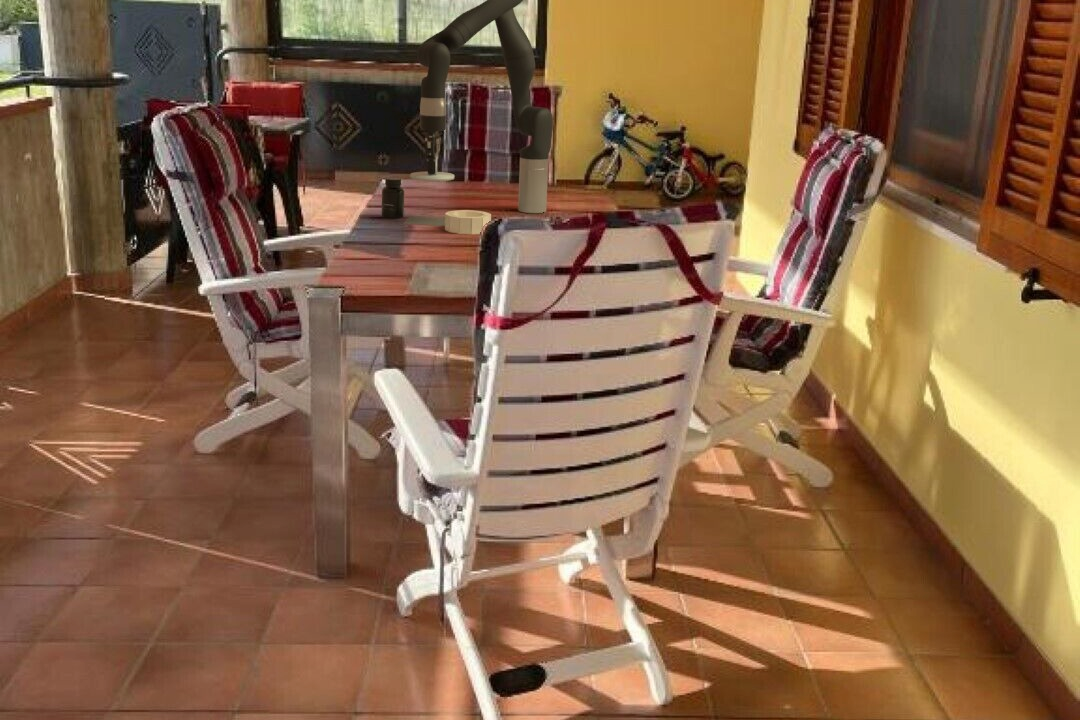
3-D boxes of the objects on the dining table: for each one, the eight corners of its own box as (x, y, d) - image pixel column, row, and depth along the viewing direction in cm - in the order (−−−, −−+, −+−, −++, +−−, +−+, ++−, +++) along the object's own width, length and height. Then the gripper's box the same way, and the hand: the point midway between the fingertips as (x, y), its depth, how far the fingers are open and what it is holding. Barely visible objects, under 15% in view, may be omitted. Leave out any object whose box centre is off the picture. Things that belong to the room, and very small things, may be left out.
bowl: (448, 225, 313) (449, 209, 312) (492, 228, 313) (492, 211, 311) (442, 234, 301) (442, 216, 299) (487, 236, 300) (488, 219, 299)
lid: (414, 173, 320) (414, 153, 318) (457, 176, 319) (457, 156, 317) (406, 179, 307) (406, 159, 306) (450, 182, 307) (451, 161, 305)
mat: (410, 217, 325) (410, 215, 325) (455, 219, 324) (455, 218, 324) (402, 225, 311) (402, 223, 311) (449, 227, 311) (449, 226, 311)
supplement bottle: (383, 220, 318) (382, 180, 314) (380, 216, 324) (380, 176, 321) (405, 219, 320) (405, 180, 316) (402, 215, 326) (402, 177, 323)
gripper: (441, 116, 301) (441, 177, 306) (449, 112, 314) (448, 170, 319) (415, 114, 301) (415, 175, 306) (424, 111, 314) (424, 169, 320)
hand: (432, 172), depth 313 cm, fingers closed on lid, 2 cm apart
